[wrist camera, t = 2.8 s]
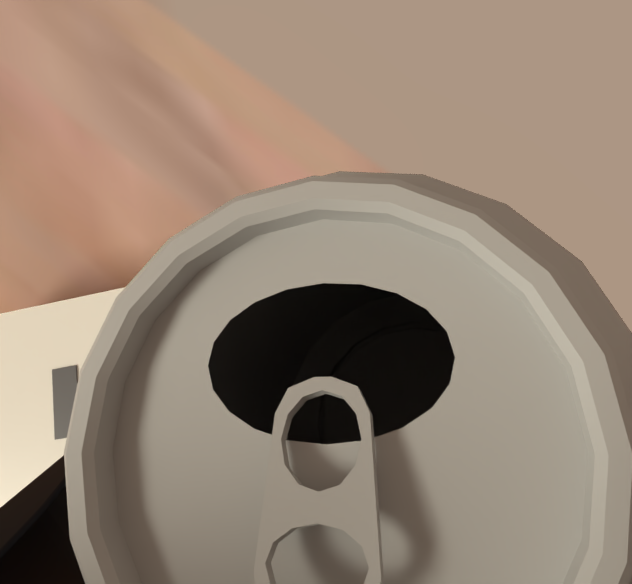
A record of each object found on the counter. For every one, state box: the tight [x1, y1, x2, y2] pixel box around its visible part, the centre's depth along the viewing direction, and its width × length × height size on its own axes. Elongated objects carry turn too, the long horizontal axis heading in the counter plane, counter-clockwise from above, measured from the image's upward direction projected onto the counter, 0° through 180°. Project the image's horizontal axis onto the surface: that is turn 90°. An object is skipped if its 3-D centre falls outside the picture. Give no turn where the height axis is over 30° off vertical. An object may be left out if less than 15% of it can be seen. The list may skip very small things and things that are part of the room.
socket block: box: [0, 287, 125, 507], centre depth 18 cm, size 10×10×3 cm
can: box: [64, 171, 632, 584], centre depth 12 cm, size 8×8×12 cm
